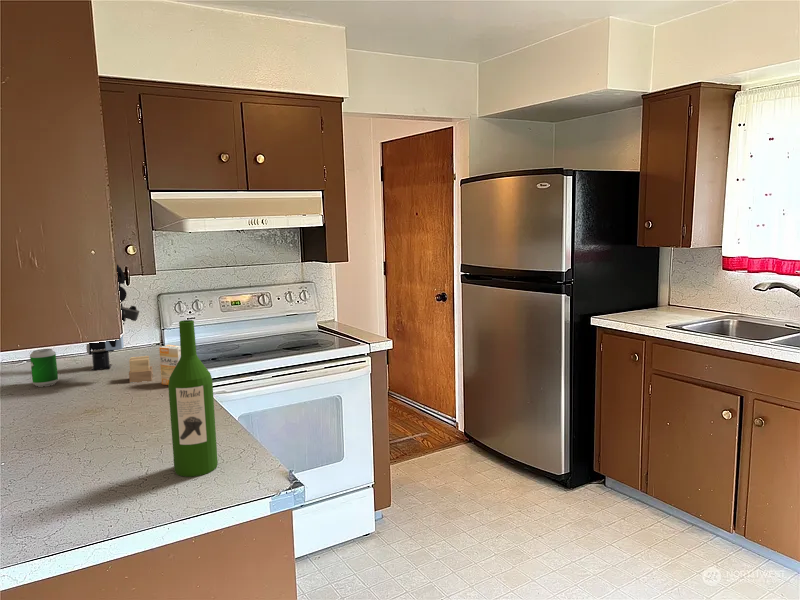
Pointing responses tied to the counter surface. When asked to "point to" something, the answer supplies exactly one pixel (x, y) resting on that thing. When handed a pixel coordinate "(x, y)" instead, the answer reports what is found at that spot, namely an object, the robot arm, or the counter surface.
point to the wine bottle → (192, 410)
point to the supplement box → (168, 361)
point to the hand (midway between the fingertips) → (114, 345)
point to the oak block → (139, 363)
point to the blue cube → (118, 344)
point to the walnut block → (141, 375)
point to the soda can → (44, 367)
